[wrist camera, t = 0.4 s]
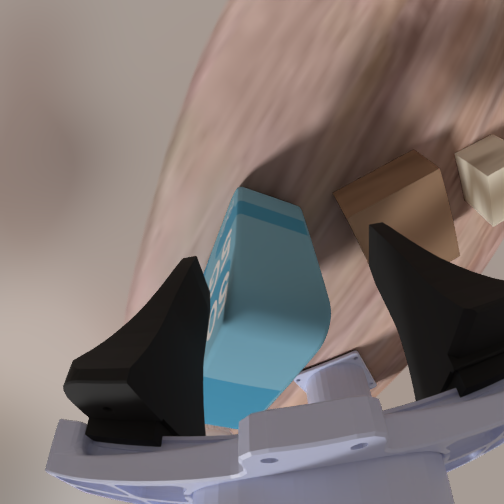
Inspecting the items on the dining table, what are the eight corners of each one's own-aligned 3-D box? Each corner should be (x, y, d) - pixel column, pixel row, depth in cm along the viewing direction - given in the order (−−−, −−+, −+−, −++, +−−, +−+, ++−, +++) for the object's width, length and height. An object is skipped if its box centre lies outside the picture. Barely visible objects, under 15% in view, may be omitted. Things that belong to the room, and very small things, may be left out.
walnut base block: (437, 228, 24) (459, 255, 21) (369, 265, 26) (384, 297, 23) (412, 148, 20) (439, 168, 17) (331, 191, 22) (346, 218, 19)
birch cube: (499, 179, 21) (530, 203, 17) (463, 199, 22) (493, 227, 19) (492, 133, 19) (527, 153, 15) (453, 153, 20) (487, 176, 16)
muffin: (240, 415, 41) (240, 460, 35) (229, 431, 44) (228, 471, 38) (197, 408, 39) (193, 454, 34) (189, 425, 43) (186, 465, 37)
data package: (239, 177, 21) (233, 302, 12) (299, 199, 22) (339, 328, 13) (193, 300, 28) (175, 426, 18) (242, 313, 29) (241, 437, 19)
